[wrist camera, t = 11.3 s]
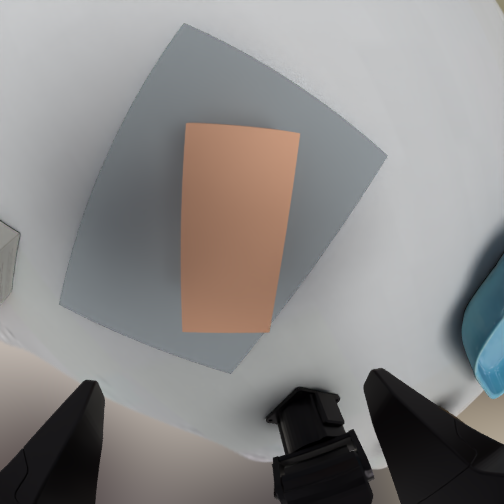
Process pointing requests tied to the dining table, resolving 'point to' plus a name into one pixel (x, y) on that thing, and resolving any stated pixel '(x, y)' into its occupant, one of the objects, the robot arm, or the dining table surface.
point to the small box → (7, 259)
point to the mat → (170, 194)
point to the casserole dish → (487, 332)
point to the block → (233, 224)
